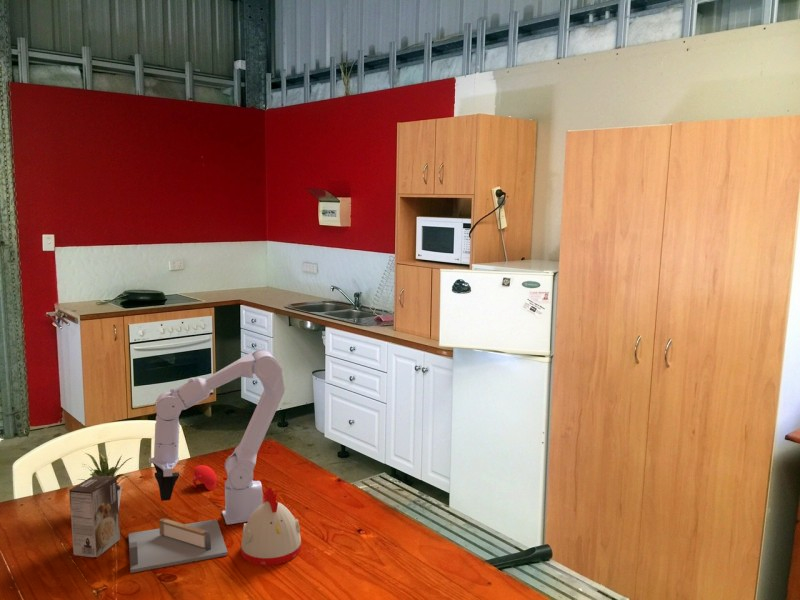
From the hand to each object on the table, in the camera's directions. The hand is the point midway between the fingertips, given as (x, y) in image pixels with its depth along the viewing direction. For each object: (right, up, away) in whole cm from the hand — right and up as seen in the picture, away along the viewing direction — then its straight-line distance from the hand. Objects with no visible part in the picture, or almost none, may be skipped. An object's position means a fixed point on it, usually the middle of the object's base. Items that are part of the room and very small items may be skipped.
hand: (164, 493), depth 170 cm
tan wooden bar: (+7, -9, -8) cm, 14 cm away
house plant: (-19, -8, +9) cm, 23 cm away
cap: (+3, -6, +26) cm, 27 cm away
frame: (+6, -10, -8) cm, 14 cm away
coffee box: (-13, -10, -9) cm, 19 cm away
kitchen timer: (+29, -11, -9) cm, 32 cm away
